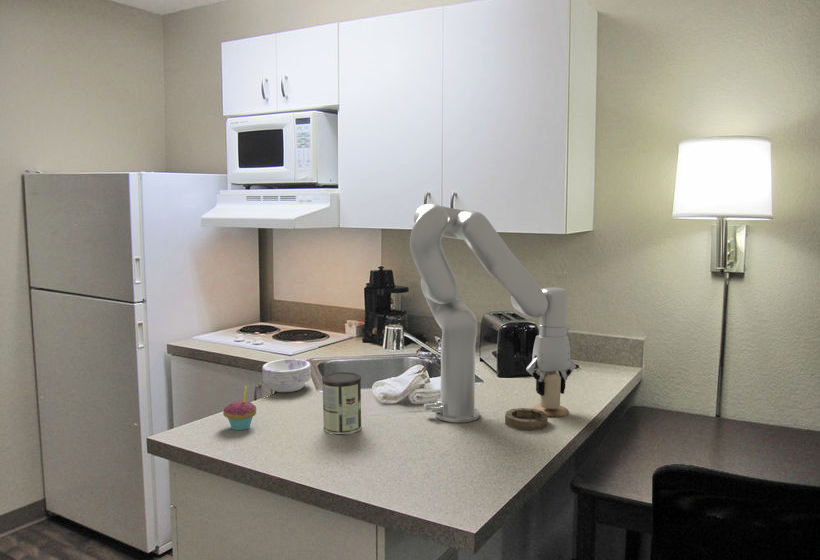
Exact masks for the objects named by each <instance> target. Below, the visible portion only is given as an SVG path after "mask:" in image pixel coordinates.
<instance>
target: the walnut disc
mask: <svg viewBox="0 0 820 560" xmlns="http://www.w3.org/2000/svg"><path fill="white" fill-rule="evenodd" d="M532 409H536V410H540V411H543V412H545V413H546V414H548V418H562V417H566V416H568V414H569V409H568V408H567V407H564V406H562V405H560V407H559V408H555V409H549V408H544V407H542V406H541V405H540V404H538V405H535V406H533V407H532Z"/></svg>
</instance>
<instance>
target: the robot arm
mask: <svg viewBox="0 0 820 560" xmlns="http://www.w3.org/2000/svg"><path fill="white" fill-rule="evenodd" d="M413 222H414V224H413V227H412V229H411V232H410V237H409V249H410V254H411V256H412V260H413V262H414V264H415V267H416V269H417V272H418V274H419V277H420V278H421V279H420V288H421V291H422V294H423V296H424V298H425V300H426V303H427V304H428V307H429V309H430V311H431V314H432V316H433V318H434V320H435V321H436V323H437V325H438V326H439V328H440V329H441V333H442V334H441V335H442V336H441V345H440V398H436V399H437V400H436V401H434V403H433V402H432V403H430V402H429V403H424V404H423V410H424V411H430V412H431V413H434V415H435V417H436V418H437V419H439V420H440V421H444V422H448V423H460V424H461V423H469V422H473V421H476V420H478V419H479V418H480V416H481V415H480V413H481V412H480V410H479V409H478V408H476V407H475V390H476V389H475V383H476V382H475V381H476V379H475V377H476V376H475V374H476V346H477V345H476V343H477V336H478V320H477V317H476V314H475V313H474V312H473V310H472V309H470V307H468V306H467V305H465V303H464V302H463V299H462V297H461V295H460V292H459V291H460V284H459V282H458V279H457V277H456V275H455V273H454V272H453V270H452V267H451V265H450V262H449V261H448V259H447V256H446V254H445V253H446V252H445V251H444V248H443V245H442V244H443V243H442V240H443V238H450V239H457V240H463V241H464V242H465V243H466V245H467V246H468V247H469V250H471V251H472V252H473V254H474V255H475V256H476V258H477V259H478V261H479V262H480V264H481V265H482V266H483V268H484V269H485V271H486V272H487V273H488V274H489V275H490V276H491V277H492V278H494V279H495V280H496V281H497V282H498V283H499V284H500V285H501V286H502V287H503V288H504V289H505V290H507V292H508V293H509V294H510V295H511V296H510V303H511V305H512V307H513V309H515V310H516V311H517V312H519V313H521V314H522V315H524V316H526V317H527V318H530V319H539V323H538V324H539V325H538V326H539V327H538V328H539V330H538V331H539V332H538V335H535V340H534V343H533V350H532V359H531V362H530V363H529V364H528V365H527V367H526V368H525V370H526V371H527V372H528V373H529V374H530V375H531V376H532V377H533V378H534V379H535V391H536V393H537V395H540V397H541V396H543V395H544V382H543V378H544V375H545V373H546V372H557V373H558V375H559V376H560V377H561V390H560V394H565V390H566V381H567V380H568V377H569V376H570V375H571V374H572V372H573V371H574V370H576V368H577V365H576V364H575V362H573V360H572V359H571V347H570V341H569V336H568V335H567V334H568V332H570V331H571V327H570V326H568V325H567V322H568V321H567V320H568V302H569V301H568V294H569V293H568V291H567V290H566V289H565V288H563V287H553V286H552V287H550V286H549V287H548V286H547V287H544V288H542V287H540V286H539V284H538V283H537V281H536V280H535V279H534V278H533V276H532V275H531V273H529V271H528V270H527V269H526V268H525V267H524V266H523V264H522V263H521V262H520V261H519V260H518V258H517V256H515V254H514V253H513V252H512V251H511V250H510V247H508V246H507V244H506V242H504V240H503V238H502V237H501V236H500V234H499V233H498V232H497V230H496V229H495V228H494V226H493V225H492V224H491V222H490V220H489V219H488V218H487V217H486V215H484V214H483V213H482V212H479V211H474V210H466V209H458V208H453V207H448V206H442V205H439V204H433V203H425V204H422V205H421V206H419V207H418V208H417V209H416V211H415V213H414V215H413ZM535 369H536V371H535Z"/></svg>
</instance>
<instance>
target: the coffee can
mask: <svg viewBox="0 0 820 560" xmlns="http://www.w3.org/2000/svg"><path fill="white" fill-rule="evenodd" d="M321 377H322V378H321V380H322V381H321V382H322V409H323V410H322V415H323V416H322V417H323V422H322V423H323V431H324V432H325V431H326V432H325V433H327V432H328V433H327V434H329V433H332V434H331V435H335V434H347V435H352V434H355V432H356V433H357V432H359V431H361V430H362V400H361V399H362V386H361V384H362V383H361V382H362V381H361V380H362V376H361V374H358V373H356V372H352V371H349V372H348V371H347V372H346V371H341V372H339V371H338V372H331V373H327V374H325V375H323V376H321Z"/></svg>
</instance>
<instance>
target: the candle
mask: <svg viewBox="0 0 820 560" xmlns="http://www.w3.org/2000/svg"><path fill="white" fill-rule="evenodd" d="M543 382H544V395H543V396H541V395H540V398H539V399H540V404H539V405H541V406H542V407H544V408H549V409H555V408H559V407H560V406H561V393H560V390H561V377H560V376H559V374H558V371H553V372H546V373H545V375H544V378H543Z"/></svg>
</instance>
